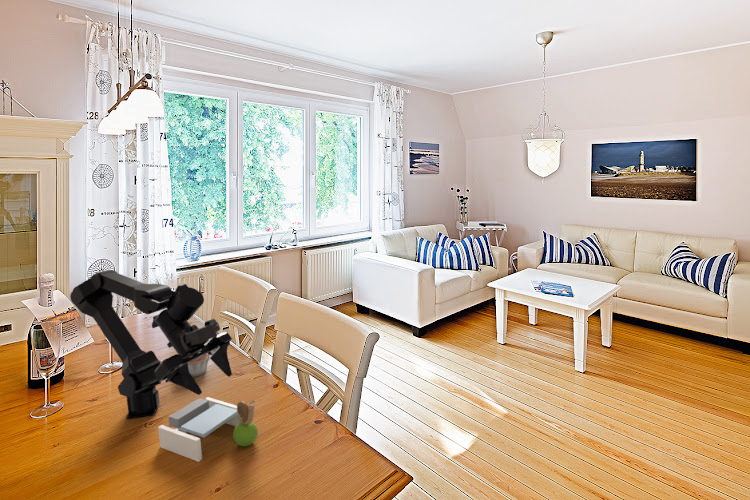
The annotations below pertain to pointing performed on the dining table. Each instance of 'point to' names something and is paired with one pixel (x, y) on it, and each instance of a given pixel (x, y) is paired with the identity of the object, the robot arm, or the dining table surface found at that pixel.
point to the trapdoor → (201, 417)
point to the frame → (189, 436)
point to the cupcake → (198, 365)
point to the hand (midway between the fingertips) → (216, 384)
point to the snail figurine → (245, 425)
